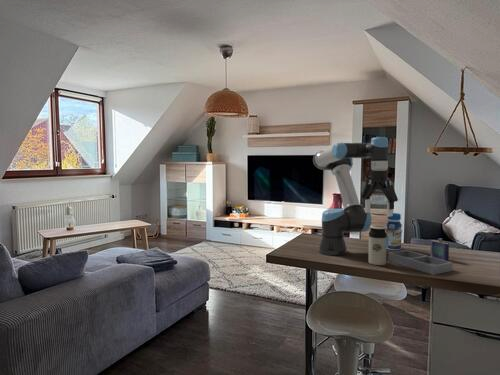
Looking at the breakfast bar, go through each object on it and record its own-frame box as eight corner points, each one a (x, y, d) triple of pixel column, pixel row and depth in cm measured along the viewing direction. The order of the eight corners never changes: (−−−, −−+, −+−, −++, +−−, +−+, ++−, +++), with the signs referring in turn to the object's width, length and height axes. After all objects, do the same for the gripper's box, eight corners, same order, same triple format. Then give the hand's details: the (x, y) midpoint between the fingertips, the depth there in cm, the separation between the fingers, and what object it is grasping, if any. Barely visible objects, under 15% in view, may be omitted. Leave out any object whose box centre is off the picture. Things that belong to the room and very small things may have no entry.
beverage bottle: (392, 246, 192) (393, 212, 191) (404, 249, 184) (405, 214, 183) (382, 247, 188) (382, 213, 187) (393, 251, 181) (394, 215, 179)
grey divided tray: (388, 260, 164) (388, 252, 164) (406, 257, 170) (406, 249, 169) (433, 274, 142) (433, 266, 142) (452, 270, 148) (452, 262, 147)
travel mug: (371, 259, 165) (372, 224, 164) (388, 262, 160) (389, 226, 159) (365, 263, 159) (366, 226, 158) (382, 266, 154) (383, 228, 153)
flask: (429, 257, 169) (430, 236, 168) (433, 256, 170) (434, 236, 170) (446, 262, 161) (447, 240, 160) (450, 261, 162) (451, 240, 161)
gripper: (354, 169, 166) (353, 211, 168) (395, 170, 144) (393, 218, 145) (365, 169, 169) (365, 210, 171) (407, 170, 147) (405, 217, 148)
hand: (378, 214), depth 158 cm, fingers open, 13 cm apart
